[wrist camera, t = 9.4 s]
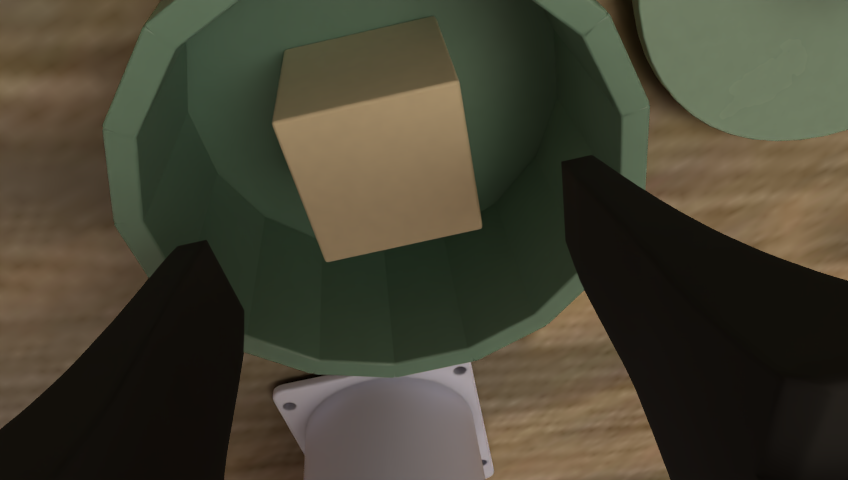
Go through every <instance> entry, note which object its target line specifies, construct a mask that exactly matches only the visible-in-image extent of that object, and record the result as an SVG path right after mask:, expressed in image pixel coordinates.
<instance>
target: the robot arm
mask: <svg viewBox="0 0 848 480" xmlns="http://www.w3.org/2000/svg"><path fill="white" fill-rule="evenodd" d="M561 167H562V186H563V205H564V224H565V241H566V244H567V247H568V250H569V252H570V255H571V258H572V261H573V264H574V266H575V269H576V272H577V274H578V277H579V280H580V282H581V284H582V286H583V288H584V290H585V292H586V294H587V296H588V298H589V300H590V302H591V303H592V305H593V307H594V309H595V311H596V313H597V315H598V317H599V319H600V321H601V323H602V324H603V326H604V328H605V330H606V332H607V334H608V336H609V338H610V340H611V341H612V343H613V345H614V347H615V349H616V351H617V353H618V355H619V357H620V358H621V360H622V362H623V364H624V366H625V368H626V370H627V372H628V374H629V376H630V378H631V381H632V383H633V385H634V387H635V389H636V392H637V394H638V397H639V399H640V402H641V404H642V407H643V409H644V412H645V414H646V417H647V419H648V422H649V424H650V427H651V429H652V432H653V434H654V437H655V440H656V442H657V445H658V448H659V450H660V453H661V456H662V458H663V461H664V464H665V466H666V469H667V471H668V474H669V477H670V479H671V480H848V281H847V280H843V279H840V278H837V277H833V276H830V275H827V274H824V273H821V272H817V271H815V270H812V269H809V268H806V267H803V266H800V265H798V264H795V263H792V262H789V261H786V260H783V259H781V258H778V257H775V256H773V255H770V254H768V253H765V252H763V251H760V250H758V249H756V248H753V247H751V246H749V245H746V244H744V243H742V242H740V241H737V240H735V239H733V238H730V237H728V236H726V235H724V234H722V233H720V232H718V231H716V230H714V229H712V228H710V227H708V226H706V225H704V224H702V223H700V222H698V221H697V220H695V219H693V218H691V217H689V216H687V215H685V214H684V213H682V212H680V211H678V210H677V209H675V208H673V207H671V206H670V205H668V204H666V203H665V202H663V201H661V200H660V199H658V198H656V197H655V196H653V195H652V194H650V193H648V192H647V191H645V190H644V189H642V188H641V187H639V186H638V185H636V184H635V183H633V182H632V181H630V180H629V179H627V178H626V177H624V176H623V175H621V174H620V173H618V172H617V171H615V170H614V169H612V168H611V167H609V166H608V165H606V164H605V163H604V162H602V161H601V160H599V159H598V158H596V157H595V156H593V155H589V156H584V157H580V158H575V159H571V160H566V161H562V162H561ZM243 354H244V309H243V307H242V305H241V303H240V301H239V299H238V297H237V296H236V294H235V292H234V290H233V288H232V286H231V284H230V282H229V281H228V279H227V277H226V275H225V273H224V271H223V269H222V268H221V266H220V264H219V262H218V260H217V258H216V256H215V255H214V253H213V251H212V249H211V247H210V245H209V243H208V241H207V240H203V241H198V242H194V243H189V244H185V245H180V246H177V247H176V248H175V249H174V250H173V251H172V252H171V253H170V254H169V255H168V256H167V258H166V259H165V260H164V261H163V262H162V263H161V265H160V266H159V267H158V268H157V269H156V270H155V272H154V273H153V274H152V275H151V276H150V278H149V279H148V280H147V281H146V282H145V284H144V285H143V286H142V287H141V289H140V290H139V291H138V292H137V293H136V294H135V296H134V297H133V298H132V299H131V300H130V302H129V303H128V304H127V305H126V306H125V307H124V309H123V310H122V311H121V312H120V313H119V315H118V316H117V317H116V318H115V319H114V320H113V322H112V323H111V324H110V325H109V326H108V327H107V328H106V329H105V330H104V331H103V332H102V333H101V335H100V336H99V337H98V338H97V339H96V340H95V341H94V342H93V343H92V344H91V345H90V347H89V348H88V349H87V350H86V351H85V352H84V353H83V354H82V355H81V356H80V357H79V359H78V360H77V361H76V362H75V363H74V364H73V365H72V366H71V367H70V368H69V369H68V370H67V371H66V372H65V373H64V374H63V375H62V376H61V377H59V378H58V379H57V380H56V381H55V382H54V383H53V384H52V385H51V386H50V387H49V388H48V389H47V390H46V391H45V392H43V393H42V394H41V395H40V396H39V397H38V398H37V399H36V400H35V401H34V402H33V403H31V404H30V405H29V406H28V407H27V408H26V409H25V410H23V411H22V412H21V413H20V414H19V415H17V416H16V417H15V418H14V419H12V420H11V421H10V422H9V423H8V424H6V425H5V426H4V427H3V428H1V429H0V480H224V473H225V465H226V457H227V450H228V444H229V438H230V432H231V427H232V421H233V415H234V409H235V404H236V398H237V392H238V386H239V380H240V374H241V368H242V361H243ZM273 401H274V403H275V405H276V406H277V408H278V410H279V411H280V413H281V415H282V417H283V418H284V420H285V422H286V424H287V425H288V427H289V429H290V431H291V432H292V434H293V436H294V438H295V439H296V441H297V443H298V445H299V446H300V448H301V450H302V451H303V453H304V455H305V464H304V480H486V479H485V478H489V477H490V476H492V475H493V473H494V468H493V463H492V459H491V454H490V449H489V445H488V440H487V435H486V431H485V426H484V422H483V417H482V412H481V408H480V403H479V398H478V394H477V389H476V384H475V380H474V375H473V371H472V366H471V362H469V363H464V364H459V365H454V366H450V367H445V368H440V369H435V370H431V371H426V372H421V373H416V374H412V375H407V376H402V377H394V378H384V377H361V376H339V375H324V376H319V377H314V378H310V379H305V380H300V381H296V382H291V383H286V384H282V385H279V386H277V387H276V388H275V389H274V391H273Z"/></svg>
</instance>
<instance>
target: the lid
mask: <svg viewBox="0 0 848 480" xmlns="http://www.w3.org/2000/svg"><path fill="white" fill-rule="evenodd" d="M632 5H633V11H634V17H635V22H636V28H637V33H638V36H639V39H640V42H641V45H642V48H643V51H644V54H645V57H646V58H647V60H648V62H649V64H650V66H651V68H652V70H653V72H654V74H655V75H656V77H657V78H658V80H659V81H660V82H661V84H662V85H663V86H664V87H665V89H666V90H667V91H668V93H669V94H670V95H671V96H672V97H673V98H674V99H675V100H676V101H677V102H678V103H679V104H680V105H681V106H682V107H684V108H685V109H686V110H687V111H688V112H689V113H690V114H691V115H693V116H694V117H696V118H698V119H699V120H701V121H703V122H704V123H706V124H708V125H709V126H711V127H714V128H716V129H719V130H721V131H724V132H726V133H729V134H732V135H736V136H741V137H745V138H750V139H756V140H769V141H788V140H803V139H809V138H815V137H821V136H827V135H830V134H834V133H838V132H841V131H845V130H848V0H632Z"/></svg>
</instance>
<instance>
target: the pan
mask: <svg viewBox="0 0 848 480" xmlns="http://www.w3.org/2000/svg"><path fill="white" fill-rule="evenodd" d="M431 16H434V17H435V18H436V19H437V22H438V25H439V28H440V30H441V33H442V36H443V39H444V41H445V44H446V47H447V49H448V52H449V55H450V58H451V60H452V63H453V66H454V69H455V71H456V74H457V77H458V79H459V82H460V88H461V94H462V101H463V107H464V113H465V119H466V125H467V132H468V138H469V144H470V150H471V156H472V163H473V169H474V175H475V181H476V187H477V194H478V200H479V206H480V212H481V218H482V228H481V229H478V230H474V231H469V232H464V233H460V234H455V235H451V236H446V237H441V238H437V239H432V240H428V241H423V242H418V243H414V244H409V245H405V246H400V247H395V248H391V249H386V250H382V251H377V252H372V253H368V254H363V255H359V256H354V257H349V258H345V259H340V260H336V261H331V262H326V261H325V259H324V257H323V254H322V252H321V249H320V247H319V244H318V242H317V239H316V236H315V234H314V231H313V229H312V226H311V224H310V221H309V218H308V216H307V213H306V211H305V208H304V206H303V203H302V201H301V198H300V195H299V193H298V190H297V188H296V185H295V183H294V180H293V177H292V175H291V172H290V170H289V167H288V165H287V162H286V160H285V157H284V154H283V152H282V149H281V147H280V144H279V142H278V139H277V136H276V134H275V131H274V129H273V126H272V119H273V114H274V108H275V102H276V96H277V90H278V84H279V79H280V73H281V67H282V61H283V55H284V51H285V50H287V49H291V48H296V47H300V46H304V45H309V44H313V43H318V42H322V41H326V40H331V39H335V38H339V37H344V36H348V35H352V34H357V33H361V32H366V31H370V30H374V29H379V28H383V27H387V26H392V25H396V24H400V23H405V22H409V21H414V20H418V19H422V18H427V17H431ZM649 112H650V106H649V101H648V98H647V96H646V94H645V92H644V89H643V87H642V85H641V83H640V80H639V78H638V76H637V74H636V72H635V69H634V67H633V65H632V63H631V60H630V58H629V56H628V54H627V52H626V49H625V47H624V45H623V43H622V40H621V38H620V36H619V34H618V32H617V29H616V27H615V25H614V23H613V20H612V18H611V16H610V14H609V13H608V12H607V11H606V9H605V8H604V7H603V6H602V5H600V4H599V3H598V2H597V1H596V0H161V1H160V3H159V4H158V6H157V7H156V9H155V10H154V12H153V13H152V14H151V16H150V17H149V19H148V20H147V22H146V23H145V25H144V26H143V28H142V30H141V32H140V35H139V37H138V40H137V42H136V45H135V47H134V49H133V52H132V54H131V57H130V59H129V62H128V64H127V67H126V69H125V71H124V74H123V76H122V79H121V81H120V84H119V86H118V88H117V91H116V93H115V96H114V98H113V101H112V103H111V106H110V108H109V110H108V113H107V115H106V118H105V120H104V123H103V130H102V131H103V139H104V147H105V155H106V164H107V172H108V180H109V188H110V197H111V205H112V213H113V220H114V222H115V223H114V225H115V227H116V228H117V230H118V232H119V233H120V235H121V236H122V238H123V239H124V241H125V242H126V244H127V245H128V247H129V248H130V250H131V251H132V253H133V254H134V256H135V258H136V259H137V261H138V262H139V264H140V265H141V267H142V268H143V270H144V271H145V273H146V274H147V276H148V277H149V278H150V276H151V275H152V274H153V273H154V272H155V270H156V269H157V268H158V267H159V266H160V265H161V263H162V262H163V261H164V260H165V259H166V258H167V256H168V255H169V254H170V253H171V252H172V251H173V250H174V249H175V248H176V247H177V246H180V245H185V244H189V243H194V242H198V241H203V240H207V241H208V243H209V245H210V247H211V249H212V251H213V253H214V255H215V256H216V258H217V260H218V262H219V264H220V266H221V268H222V269H223V271H224V273H225V275H226V277H227V279H228V281H229V282H230V284H231V286H232V288H233V290H234V292H235V294H236V296H237V297H238V299H239V301H240V303H241V305H242V307H243V309H244V352H245V353H248V354H252V355H255V356H258V357H261V358H264V359H267V360H270V361H273V362H276V363H279V364H282V365H286V366H289V367H292V368H295V369H298V370H301V371H304V372H307V373H314V374H317V375H339V376H361V377H384V378H394V377H402V376H407V375H412V374H416V373H421V372H426V371H431V370H435V369H440V368H445V367H450V366H454V365H459V364H464V363H469V362H473V361H474V360H475V361H477V360H479V359H481V358H483V357H485V356H487V355H489V354H491V353H493V352H495V351H497V350H499V349H501V348H503V347H505V346H507V345H509V344H511V343H513V342H515V341H517V340H519V339H521V338H523V337H525V336H527V335H529V334H531V333H533V332H534V331H536V330H538V329H540V328H542V327H544V326H546V325H547V324H549V323H550V322H551V321H552V320H553V319H554V318H555V317H556V316H557V315H558V314H559V313H561V312H562V311H563V310H564V309H565V308H566V307H567V306H568V305H569V304H570V303H571V302H572V301H573V300H574V299H575V298H576V297H577V296H579V295H580V294H581V293H582V292H583V291H584V288H583V286H582V284H581V282H580V280H579V277H578V274H577V272H576V269H575V266H574V264H573V261H572V258H571V255H570V252H569V250H568V247H567V244H566V241H565V224H564V205H563V186H562V167H561V162H562V161H566V160H571V159H575V158H580V157H584V156H589V155H593V156H595V157H596V158H598V159H599V160H601V161H602V162H604V163H605V164H606V165H608V166H609V167H611V168H612V169H614V170H615V171H617V172H618V173H620V174H621V175H623V176H624V177H626V178H627V179H629V180H630V181H632V182H633V183H635V184H636V185H638V186H639V187H641V188H642V189H644V190H645V186H646V168H647V149H648V131H649Z"/></svg>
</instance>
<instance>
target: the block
mask: <svg viewBox="0 0 848 480" xmlns="http://www.w3.org/2000/svg"><path fill="white" fill-rule="evenodd" d="M272 126H273V129H274V131H275V134H276V136H277V139H278V142H279V144H280V147H281V149H282V152H283V154H284V157H285V160H286V162H287V165H288V167H289V170H290V172H291V175H292V177H293V180H294V183H295V185H296V188H297V190H298V193H299V195H300V198H301V201H302V203H303V206H304V208H305V211H306V213H307V216H308V218H309V221H310V224H311V226H312V229H313V231H314V234H315V236H316V239H317V242H318V244H319V247H320V249H321V252H322V254H323V257H324V259H325V261H326V262H331V261H336V260H340V259H345V258H349V257H354V256H359V255H363V254H368V253H372V252H377V251H382V250H386V249H391V248H395V247H400V246H405V245H409V244H414V243H418V242H423V241H428V240H432V239H437V238H441V237H446V236H451V235H455V234H460V233H464V232H469V231H474V230H478V229H481V228H482V218H481V212H480V206H479V200H478V194H477V187H476V181H475V175H474V169H473V163H472V156H471V150H470V144H469V138H468V132H467V125H466V119H465V113H464V107H463V101H462V94H461V88H460V82H459V79H458V77H457V74H456V71H455V69H454V66H453V63H452V60H451V58H450V55H449V52H448V49H447V47H446V44H445V41H444V39H443V36H442V33H441V30H440V28H439V25H438V22H437V19H436V18H435V17H434V16H431V17H427V18H422V19H418V20H414V21H409V22H405V23H400V24H396V25H392V26H387V27H383V28H379V29H374V30H370V31H366V32H361V33H357V34H352V35H348V36H344V37H339V38H335V39H331V40H326V41H322V42H318V43H313V44H309V45H304V46H300V47H296V48H291V49H287V50H285V51H284V55H283V61H282V67H281V73H280V79H279V84H278V90H277V96H276V102H275V108H274V114H273V119H272Z"/></svg>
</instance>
